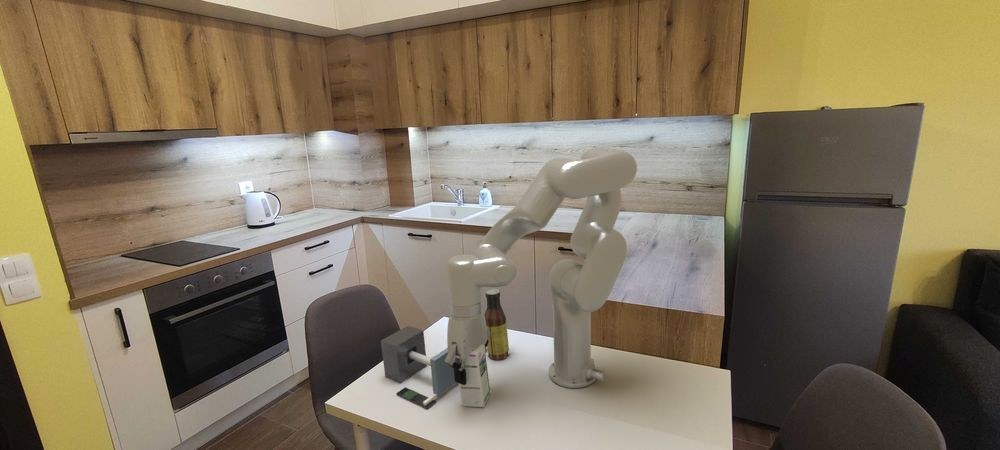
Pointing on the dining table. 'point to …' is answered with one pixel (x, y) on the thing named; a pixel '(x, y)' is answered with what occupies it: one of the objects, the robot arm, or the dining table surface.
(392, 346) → the frame
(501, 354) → the sauce bottle
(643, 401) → the dining table surface
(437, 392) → the blue-grey plate with rod
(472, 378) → the syrup box
